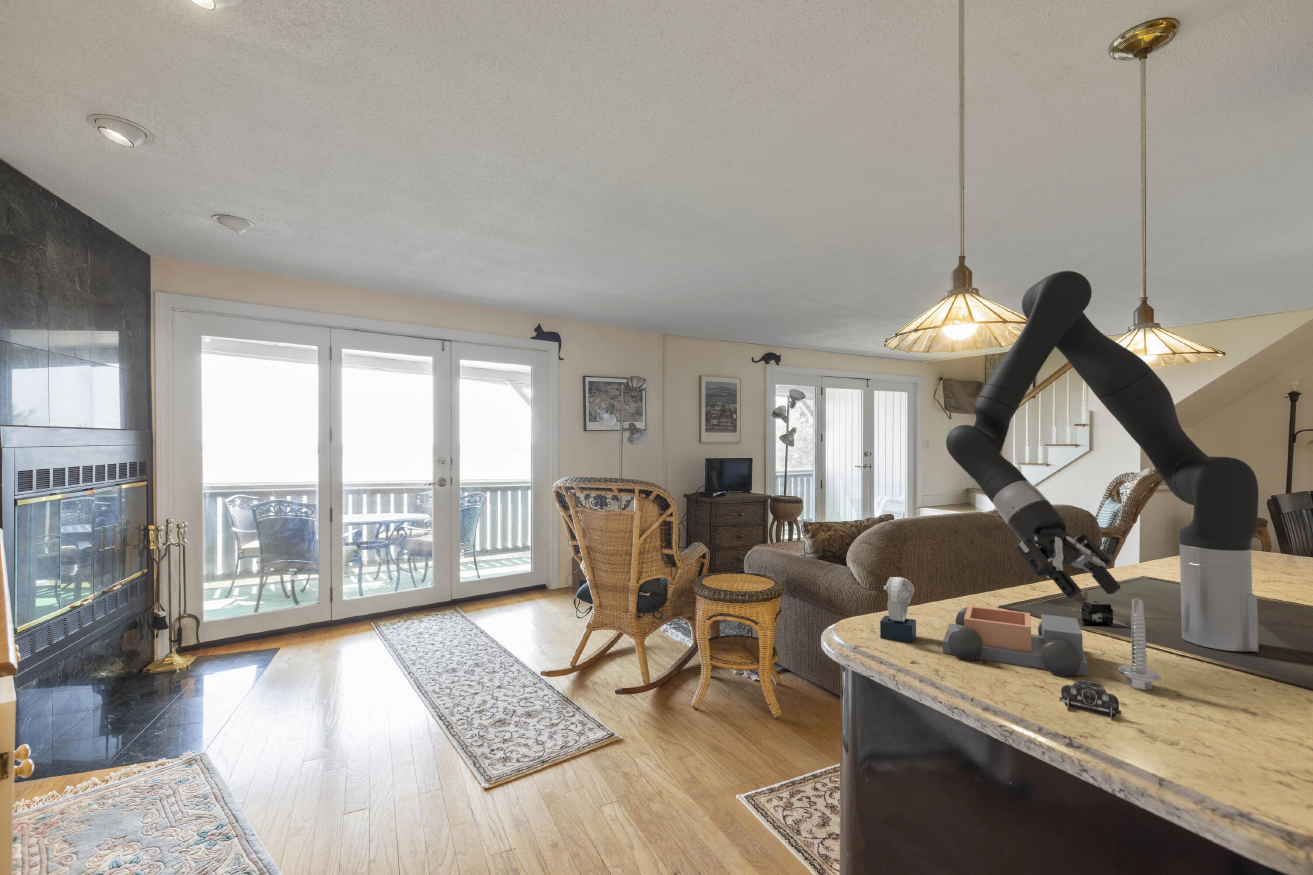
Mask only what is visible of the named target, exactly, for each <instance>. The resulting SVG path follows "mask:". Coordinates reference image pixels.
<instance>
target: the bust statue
mask: <svg viewBox="0 0 1313 875" xmlns="http://www.w3.org/2000/svg"><path fill="white" fill-rule="evenodd" d="M883 590H886V592H887V594H888V595H887V599H888V600H887V602H886V603H887V615H884V616H883V617H882V618H881V619H880V621H879V633H880V634H879V636H880V639H883V640H889V641H890V640H891V641H896V642H901V643H909V644H913V643H914V641H915V640H916V638H917V620H916V619H912V618H907V614H908V605H910V604H911V601H912V598H913V596H914V593H915V587H914V585H913V583H912V582H911V581H910V580H909V579H907V578H905V577H900V576H892V577H891V576H890V577H889V578H888V580H887V582H886V585H884V586H883Z"/></svg>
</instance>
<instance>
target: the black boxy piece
mask: <svg viewBox="0 0 1313 875" xmlns="http://www.w3.org/2000/svg"><path fill="white" fill-rule="evenodd" d="M1080 607H1081V608H1080V610H1081V611H1080V612H1081V617H1080V618H1079V617H1077V621H1078V623H1079V626H1080V627H1103V628H1104V627H1105V628H1106V627H1107V628H1108V627H1109V628H1111V627H1112V628H1113V627H1115V628H1118V627H1119V628H1121V627H1122V628H1131V626H1130V625H1127V624H1125V623H1122V622H1120V621H1117V620H1115V619H1114V609H1113V608H1112V604H1111V603H1109V602H1108V603H1107V602H1105V601H1103V600H1082V604H1081V606H1080ZM1098 614H1101V616H1097V617H1096V616H1093V615H1098Z"/></svg>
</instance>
